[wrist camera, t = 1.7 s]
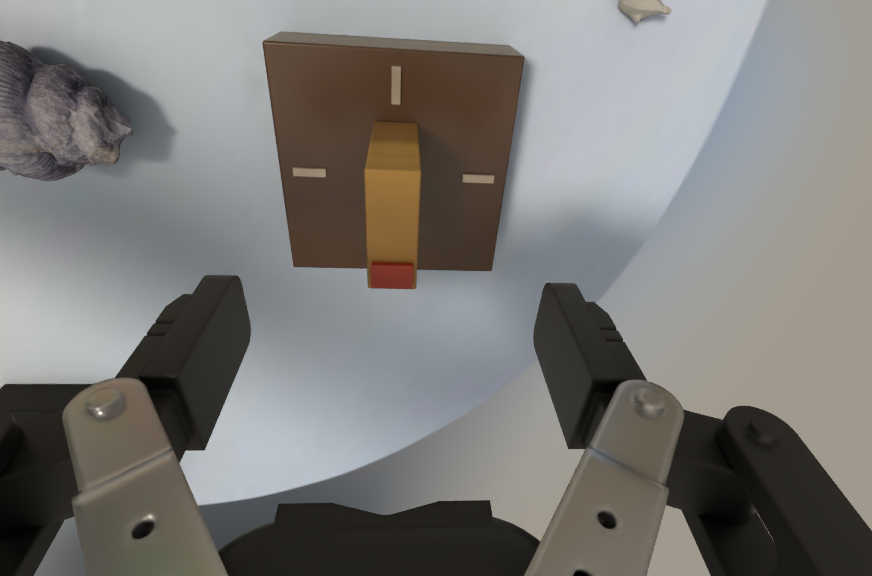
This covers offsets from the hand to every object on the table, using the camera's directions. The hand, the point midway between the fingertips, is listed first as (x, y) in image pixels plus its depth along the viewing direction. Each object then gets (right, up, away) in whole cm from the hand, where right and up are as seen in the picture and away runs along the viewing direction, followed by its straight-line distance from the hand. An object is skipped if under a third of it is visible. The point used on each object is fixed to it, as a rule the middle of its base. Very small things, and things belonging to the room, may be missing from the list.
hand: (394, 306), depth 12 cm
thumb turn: (-1, +5, +8) cm, 10 cm away
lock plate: (-1, +7, +10) cm, 13 cm away
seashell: (-17, +9, +8) cm, 21 cm away
